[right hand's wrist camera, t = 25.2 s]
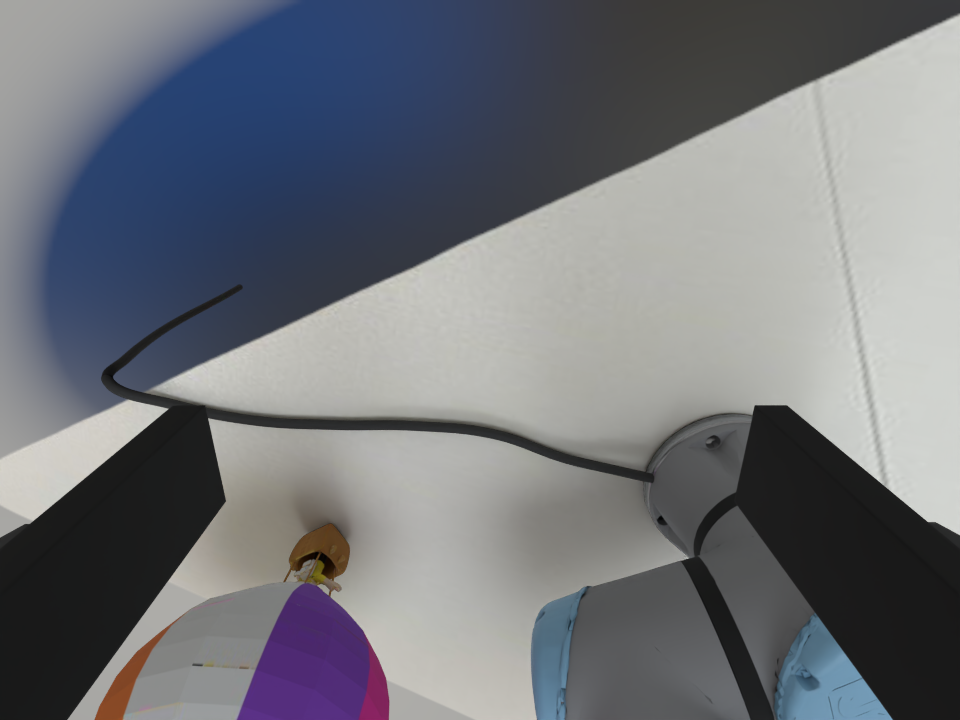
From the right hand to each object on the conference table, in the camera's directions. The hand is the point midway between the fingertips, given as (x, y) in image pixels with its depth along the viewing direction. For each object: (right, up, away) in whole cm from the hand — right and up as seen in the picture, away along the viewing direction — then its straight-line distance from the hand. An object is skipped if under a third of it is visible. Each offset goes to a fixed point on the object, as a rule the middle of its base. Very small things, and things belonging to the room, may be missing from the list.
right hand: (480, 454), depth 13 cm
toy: (-16, -17, +43) cm, 48 cm away
